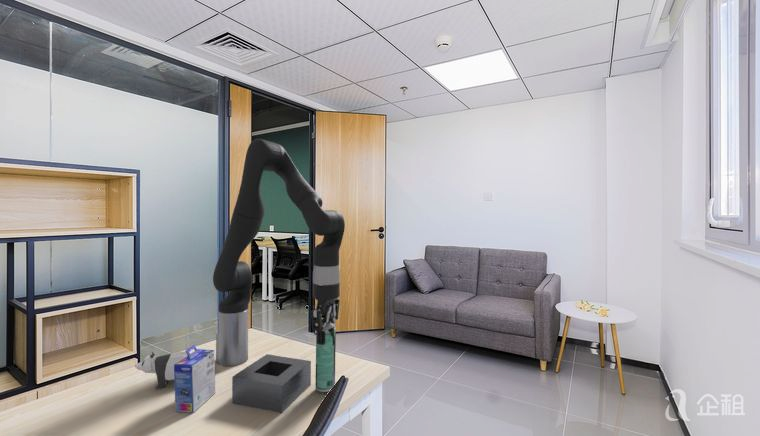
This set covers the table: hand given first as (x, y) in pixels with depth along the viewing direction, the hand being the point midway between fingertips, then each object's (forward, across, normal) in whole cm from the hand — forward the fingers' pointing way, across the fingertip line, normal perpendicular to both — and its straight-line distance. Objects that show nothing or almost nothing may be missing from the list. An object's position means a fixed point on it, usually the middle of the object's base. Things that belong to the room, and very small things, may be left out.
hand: (325, 340), depth 98 cm
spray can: (+14, 0, 0) cm, 14 cm away
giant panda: (+15, +11, -45) cm, 48 cm away
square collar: (+14, +6, -13) cm, 20 cm away
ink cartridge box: (+15, +16, -30) cm, 37 cm away
